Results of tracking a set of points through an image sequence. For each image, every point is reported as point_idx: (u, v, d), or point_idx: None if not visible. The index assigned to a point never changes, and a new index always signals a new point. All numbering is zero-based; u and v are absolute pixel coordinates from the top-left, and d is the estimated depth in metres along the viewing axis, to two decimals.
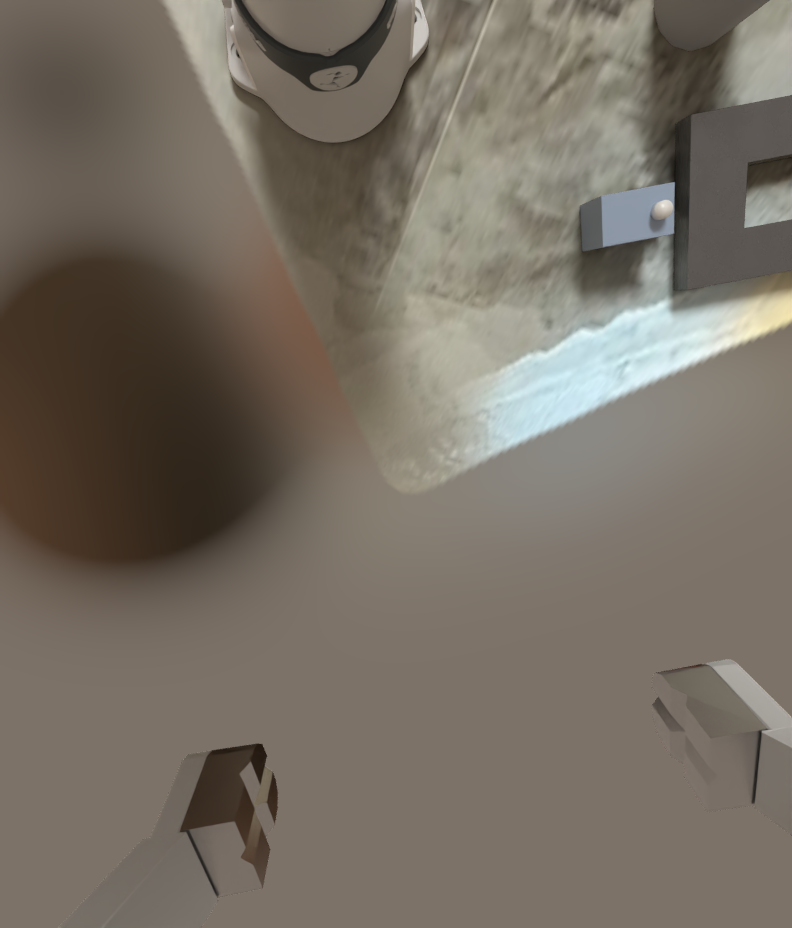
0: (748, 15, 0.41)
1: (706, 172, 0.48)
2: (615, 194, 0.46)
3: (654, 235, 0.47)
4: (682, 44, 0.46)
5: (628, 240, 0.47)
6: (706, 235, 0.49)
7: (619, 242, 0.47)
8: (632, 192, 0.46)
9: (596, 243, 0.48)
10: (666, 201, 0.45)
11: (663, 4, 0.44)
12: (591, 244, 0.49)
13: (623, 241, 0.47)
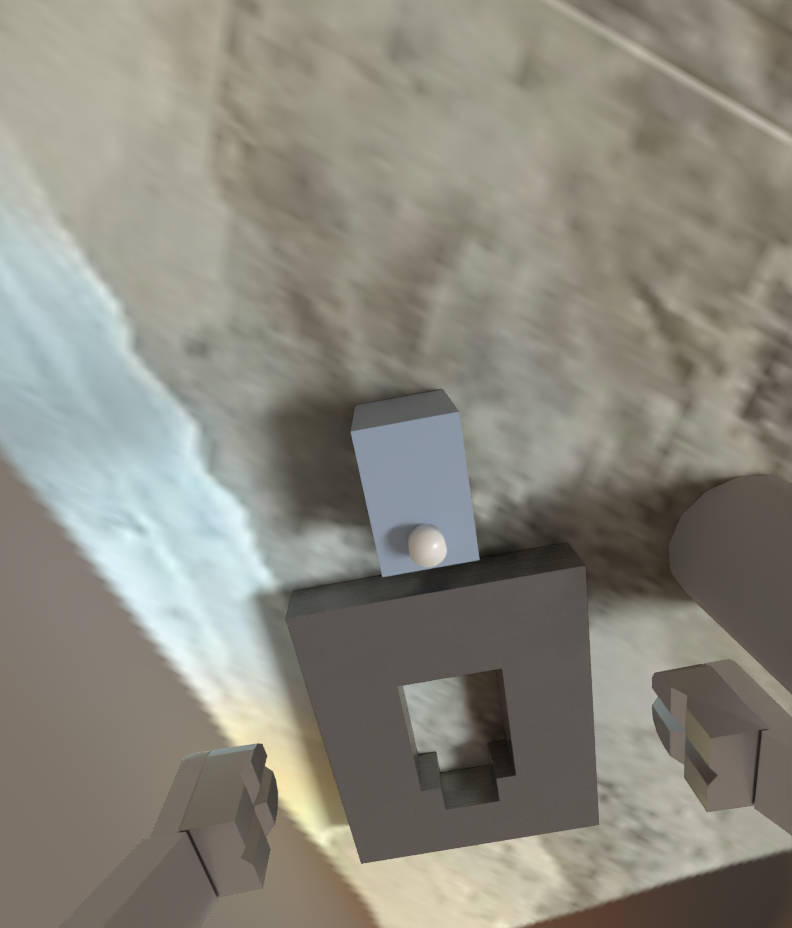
0: (733, 628, 0.23)
1: (490, 608, 0.26)
2: (461, 443, 0.20)
3: (377, 539, 0.21)
4: (683, 530, 0.27)
5: (366, 487, 0.20)
6: (385, 630, 0.26)
7: (361, 468, 0.20)
8: (463, 479, 0.20)
9: (362, 421, 0.21)
10: (443, 551, 0.20)
11: (751, 489, 0.25)
12: (363, 414, 0.22)
13: (363, 476, 0.20)
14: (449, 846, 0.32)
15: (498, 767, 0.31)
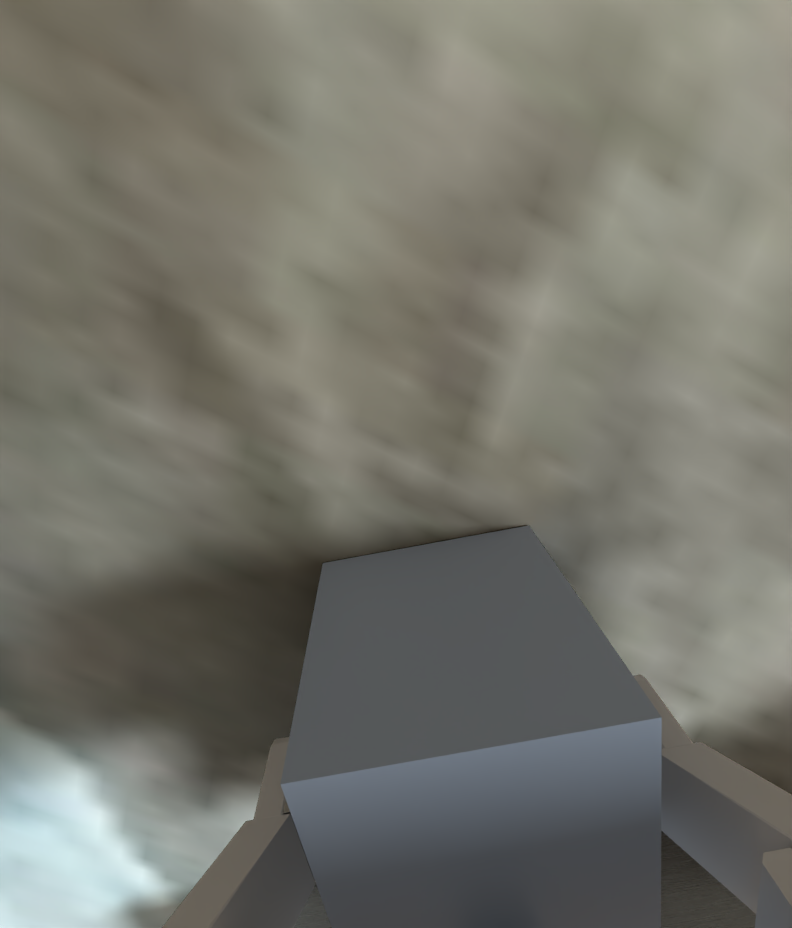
0: None
1: None
2: (653, 801, 0.06)
3: None
4: None
5: (338, 916, 0.06)
6: None
7: (322, 873, 0.06)
8: (645, 885, 0.07)
9: (329, 685, 0.07)
10: None
11: None
12: (336, 631, 0.08)
13: (330, 892, 0.06)
14: None
15: None
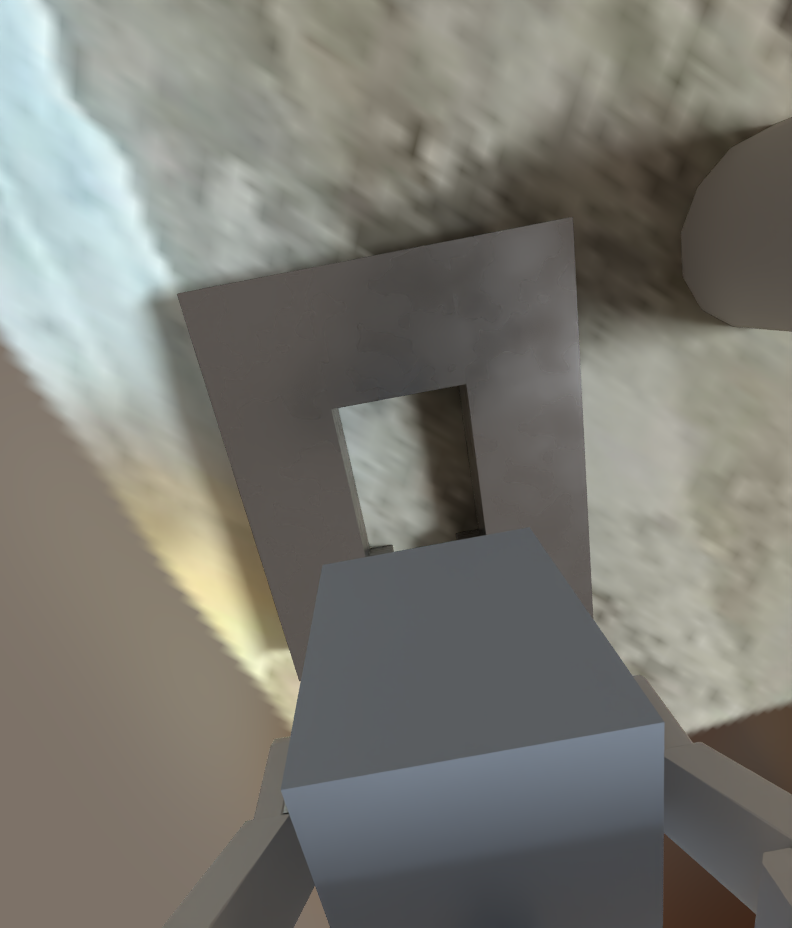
0: (771, 267, 0.17)
1: (448, 285, 0.20)
2: (655, 805, 0.06)
3: None
4: (700, 200, 0.21)
5: (339, 921, 0.06)
6: (310, 317, 0.20)
7: (322, 878, 0.06)
8: (647, 889, 0.07)
9: (329, 688, 0.07)
10: None
11: None
12: (337, 634, 0.08)
13: (331, 897, 0.06)
14: None
15: None
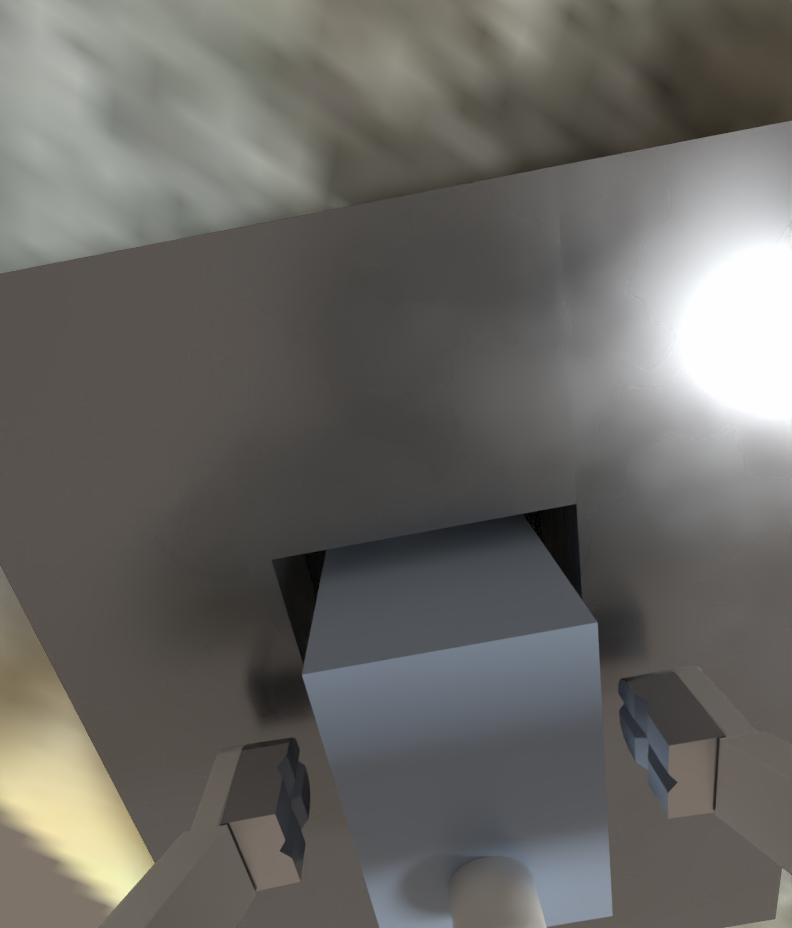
0: None
1: (551, 281, 0.08)
2: (594, 693, 0.08)
3: (376, 889, 0.09)
4: None
5: (346, 791, 0.08)
6: (211, 359, 0.08)
7: (333, 752, 0.08)
8: (592, 768, 0.08)
9: (338, 611, 0.09)
10: None
11: None
12: (344, 575, 0.10)
13: (340, 770, 0.08)
14: None
15: None
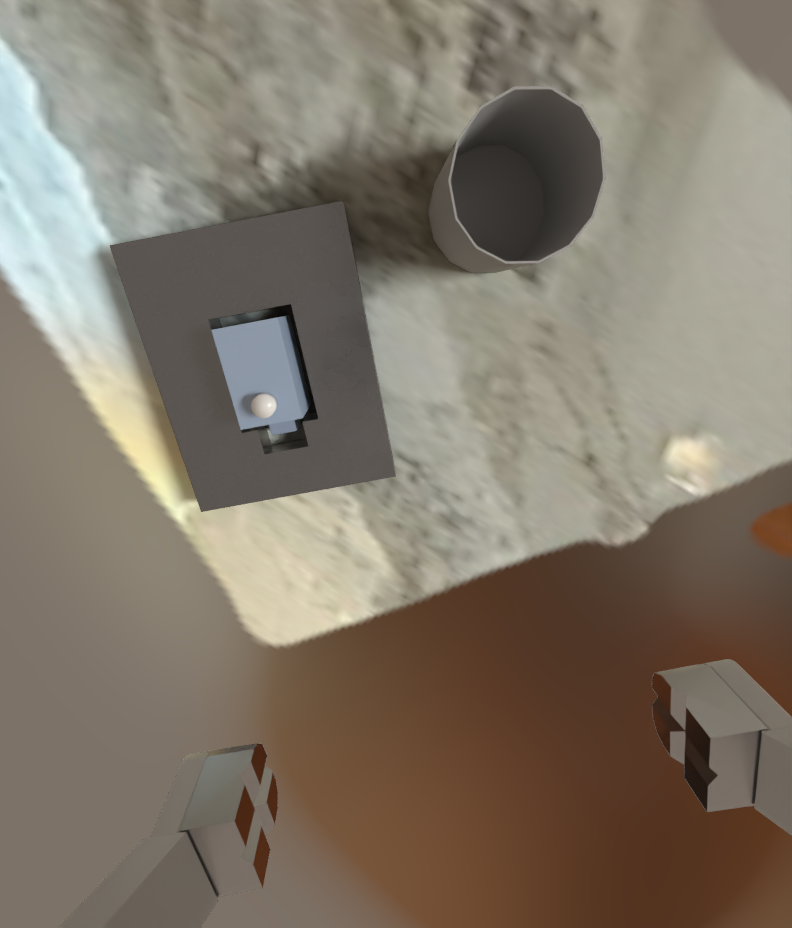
0: (443, 228, 0.30)
1: (273, 241, 0.33)
2: (280, 338, 0.32)
3: (235, 403, 0.34)
4: (432, 192, 0.34)
5: (224, 367, 0.33)
6: (191, 261, 0.33)
7: (220, 354, 0.33)
8: (285, 362, 0.33)
9: None
10: (272, 407, 0.33)
11: None
12: None
13: (222, 359, 0.33)
14: (273, 495, 0.39)
15: (307, 419, 0.37)
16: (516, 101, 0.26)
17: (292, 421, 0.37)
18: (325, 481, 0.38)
